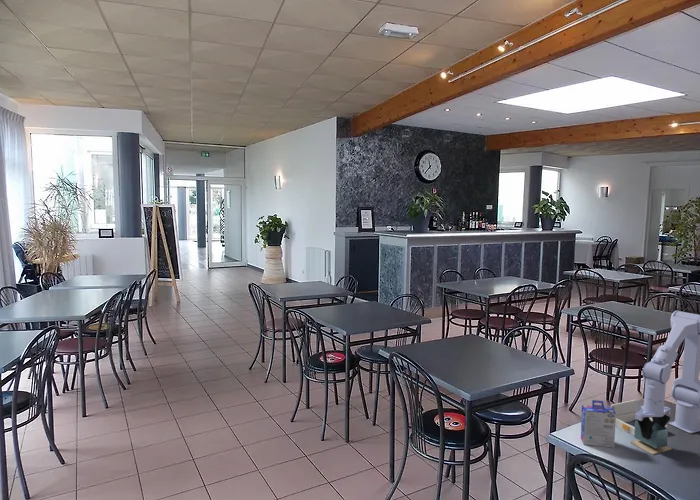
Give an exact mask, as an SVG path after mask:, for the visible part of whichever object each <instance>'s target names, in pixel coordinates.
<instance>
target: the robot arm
mask: <svg viewBox="0 0 700 500" xmlns="http://www.w3.org/2000/svg"><path fill="white" fill-rule="evenodd" d="M670 329H671V330H670V332H669V334H668V336H667V338H666V341H665V343H664V344H661V345H659V346H658V348H657V350H656V351H655V353H654V355H653V356H652V358H651V360H650V361H649V362H646V363H645V364H644V365H643V367H642V373H641V374H642V377H643V383H644V384H645V385H644V395H643V396H644V397H643V398H644V399H643V405H640V410H639V411H636V412H637V413H635V419H636V421H638V423H639V426H640V429H641V433H642V437H644V438H646V439H649V438H650V435H651V430H652V427H653V425H654V424H655V423H657V424H659V425H661V426H663V427H665V425H667V424H668V425H670V426H673V427H675V428H676V429H679V430H682V431H684V432H686V433H688V434H695V433H699V432H700V378H699V376H700V314H698V313H691V312H685V311H681V310H679V309H678V310H675V311H673V312H672V313H671V316H670ZM683 341H684V347H683V348H684V349H683V361H682V371H681V376H680V377H677V378H675V379H674V380H673V384H672V387H671V390H670V394H671V396H672V399H674V403H676V404H675V417H674V421H671V417H670V416H669V415H671V411H672V408H671V407H669V406H666V405H665V399H666V398H665V397H666V387H667V386H666V384H667V383H668V381H669V380H670V377H671V372H672V370H673V369H672V366H673V365H674V363H675V361H676V359H677V358H678V355H679V354H678V352H677V350H678V349H679V347H680V346H681V345H682V343H683ZM667 414H668V415H667ZM649 418H652V420H653V421H651V420H650V419H649Z"/></svg>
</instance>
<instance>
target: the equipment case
mask: <svg viewBox="0 0 700 500" xmlns="http://www.w3.org/2000/svg"><path fill="white" fill-rule="evenodd" d="M637 412H638V411H636V412H633V413H629V414H624V415H620V416H616V423H615V427H617V428H619V429H621V430H623V431H624V432H627V433H629V434H631V435H632V436H634V433H635V426H633V425H631V424H628V422H632V421H637V419H635V413H637ZM649 419H650V420H651V421H653V420H652V417H650V418H649ZM665 427H666V428H668V425H667V424H666V425H665Z"/></svg>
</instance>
